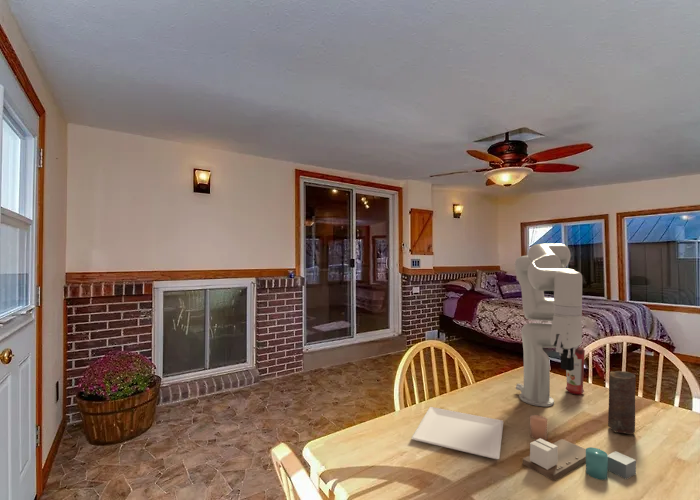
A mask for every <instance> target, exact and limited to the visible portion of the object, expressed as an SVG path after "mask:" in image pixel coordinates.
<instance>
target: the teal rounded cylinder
mask: <svg viewBox="0 0 700 500" xmlns="http://www.w3.org/2000/svg"><path fill="white" fill-rule="evenodd" d="M585 449H586V462H585V473H586V474H587V475H588V476H589V477H591V478H592V479H595V480H600V481H606V480H608V477H609V475H608V474H609V473H608V453H607V452H606V451H604V450H603V449H600V448H598V447H586V448H585Z"/></svg>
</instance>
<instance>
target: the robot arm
mask: <svg viewBox="0 0 700 500" xmlns="http://www.w3.org/2000/svg"><path fill="white" fill-rule="evenodd" d="M570 261H571V251H570V248H569V247H568V246H567V245H566V244H563V243H536V244H534V245H532V246H530V247H529V248H528V250H527V255H521V256H519V257H517V258H516V259H515V261H514V271H515V276H516V278H517V280H518V283H519V285H520V290H521V299H522V309H523V311H522V312H523V315H524V318H526V319H527V320H531V321H542V322H543V321H544V322H551V323H539V322H538V323H537V322H536V323H535V322H530V323H526V324H524V325H523V326H522V327H521V329H520V330H521V331H520V335H521V340H522V348H523V350H522V351H523V384H521V383H516V385H515V389H516V390H517V391H520V394H519V399H520V401H522V402H524V403H525V404H529V405H532V406H536V407H545V408H546V407H551V406H553V405H554V404H555V400H554V398H553V397H551V396H550V394H551V393H550V391H551V388H550V387H551V386H550V383H551V382H550V381H551V379H550V377H551V376H550V374H551V372H550V369H551V368H550V365H551V363H550V357H549V355H548V354H547V353H546V352H545V351H544V348H549V349H555V352H556V353H558V354H559V356H560V369H563V370H565V371H566V370H569V371H572V370H574V356H575V350H576V349H577V348H578V346H579V347H580V345H582V342H583V326H582V317H583V275H582V273H581V272H580V271H576V269H573V268H567V266H568V265H569V263H570ZM545 292H553V297H545Z"/></svg>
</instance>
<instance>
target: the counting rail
mask: <svg viewBox="0 0 700 500" xmlns="http://www.w3.org/2000/svg"><path fill="white" fill-rule="evenodd" d="M552 444H554V445H556V446H558V464H557V465H555V466H553V467H551V468H550V469H548V470H547V469H545V468H543V467H541V466H540V465H538V464H536V463H534V462H532V461H530V454H529V455H527V456H525V457H523V458H522V465H524V466H526V467H528V468H529V469H531V470H532V471H535V472H537V473H539V474H540V475H542V476H544V477H546V478H548V479H550V480H552V481H554V482H555V481H557V480H558V479H559V478H562V477H563V476H564V475H567V474H568V473H570V472H571V471H573V470H574V469H576V468H577V467H579V466H581V465H583V464H584V463H586V448H584V447H582V446H579V445H577V444H575V443H573V442H570V441H568V440H566V439H563V438H561V439H559V440H557V441H555V442H553V443H552Z"/></svg>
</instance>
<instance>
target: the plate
mask: <svg viewBox="0 0 700 500" xmlns="http://www.w3.org/2000/svg"><path fill="white" fill-rule="evenodd" d="M503 429H504V420H502V419H498V418H492V417H488V416H487V417H485V416H481V415H475V414H470V413H465V412H460V411H455V410H449V409H444V408H440V407H433V406H429V408H428V409H427V410H426V413H425V414H424V416H423V417H422V419H421V421H420V423H419V424H418V426H417V427H416V430H415V431H414V432H413V434H412V436H411V440H413V441H417V442H420V443H425V444H429V445H432V446H433V445H434V446H439V447H442V448H447V449H451V450H454V451H460V452H464V453H467V454H472V455H476V456H480V457H484V458H490V459H493V460H500V455H501V447H502V437H503Z"/></svg>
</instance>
